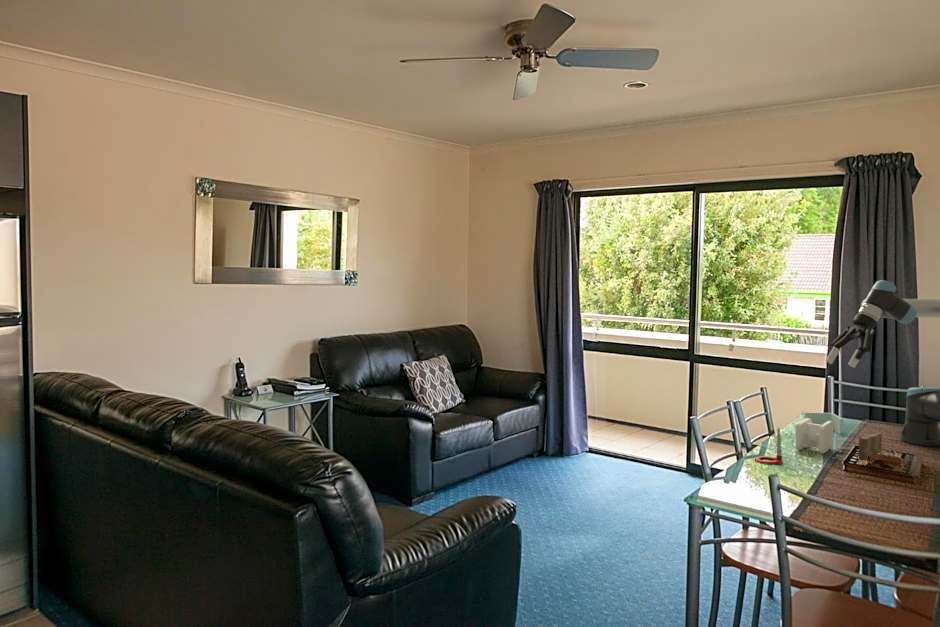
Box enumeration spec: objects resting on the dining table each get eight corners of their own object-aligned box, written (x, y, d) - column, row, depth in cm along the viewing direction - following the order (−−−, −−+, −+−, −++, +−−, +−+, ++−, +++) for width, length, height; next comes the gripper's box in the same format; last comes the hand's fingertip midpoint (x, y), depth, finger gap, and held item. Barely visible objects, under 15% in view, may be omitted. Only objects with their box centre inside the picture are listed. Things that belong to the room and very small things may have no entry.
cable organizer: (822, 456, 264) (823, 426, 263) (793, 451, 271) (794, 422, 270) (833, 448, 275) (834, 420, 274) (804, 444, 282) (805, 416, 281)
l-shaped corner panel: (803, 428, 312) (804, 412, 312) (831, 429, 311) (832, 413, 310) (813, 434, 300) (814, 417, 300) (842, 435, 299) (843, 418, 298)
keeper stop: (845, 452, 270) (846, 427, 269) (880, 460, 260) (881, 433, 259) (827, 458, 262) (828, 432, 261) (863, 466, 251) (865, 439, 250)
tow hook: (756, 464, 254) (783, 465, 251) (755, 430, 253) (782, 430, 251) (753, 458, 262) (779, 459, 259) (752, 425, 261) (779, 425, 259)
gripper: (839, 311, 277) (812, 356, 277) (882, 313, 252) (853, 362, 252) (853, 321, 278) (827, 365, 277) (898, 324, 253) (869, 372, 253)
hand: (839, 364), depth 265 cm, fingers open, 13 cm apart
